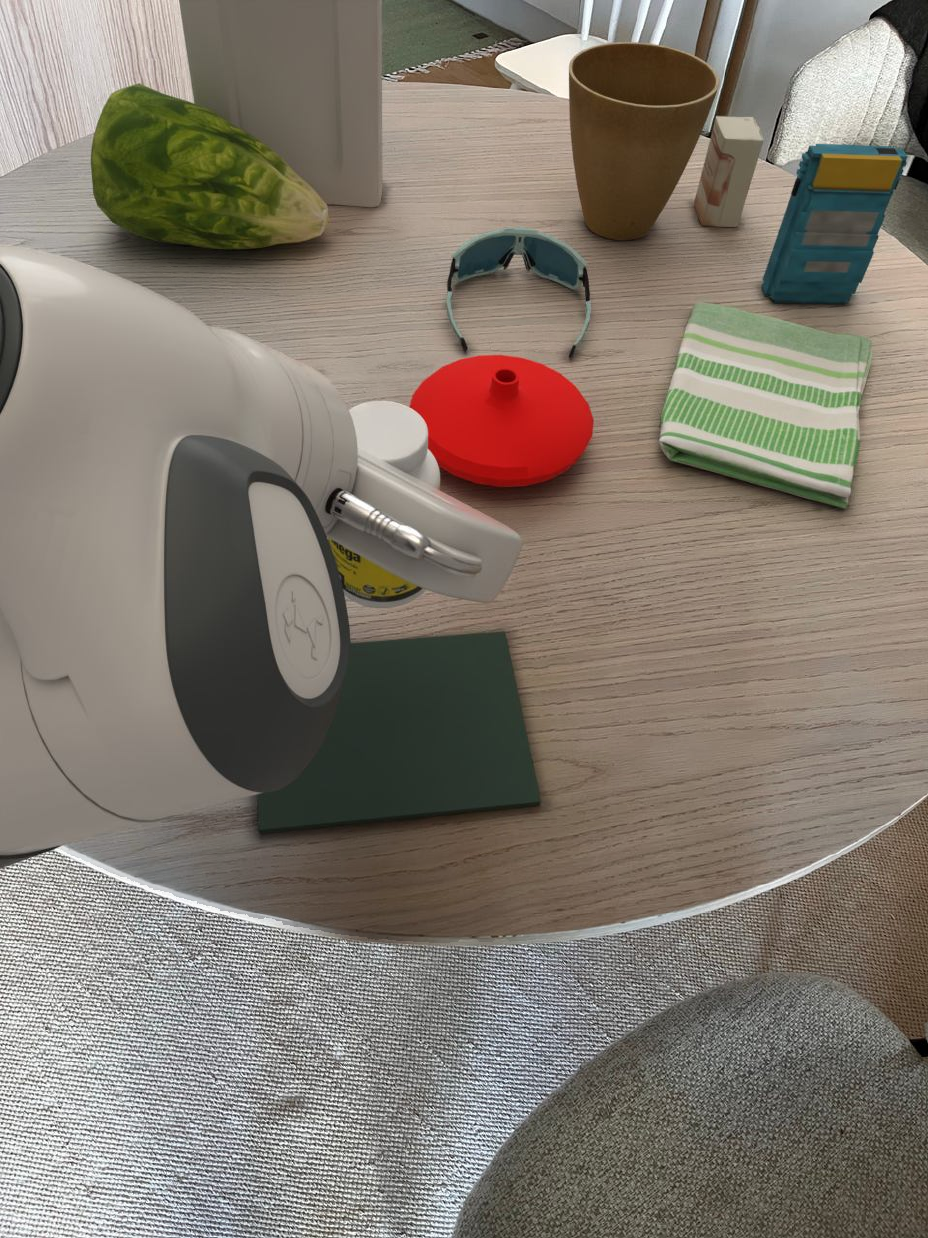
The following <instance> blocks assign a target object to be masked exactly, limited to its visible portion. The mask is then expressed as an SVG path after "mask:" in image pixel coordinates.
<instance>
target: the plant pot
mask: <svg viewBox="0 0 928 1238" xmlns="http://www.w3.org/2000/svg"><path fill="white" fill-rule="evenodd" d="M719 87H720V77H719V74H718V72H717V71H716V70H715V69H714V67H713V66H711V65H710V64H708V63H707V62H706V61H705V60H703V59H702V58H700V57H698V56H696V55H693V54H692V53H690V52H689V53H688V52H686V51H683V50H681V49H678V48H674V47H670V46H666V45H661V44H656V43H650V42H649V43H648V42H635V41H620V42H619V41H618V42H607V43H602V44H597V45H593V46H590V47H587V48H584V49H582V50H581V51H579V52H577V53H576V54H575V55H574V56H573V57H572V58H571V60H569V63H568V105H569V107H568V108H569V130H570V142H571V143H570V144H571V151H572V161H573V167H574V174H575V181H576V187H577V192H578V197H579V202H580V207H581V211H582V216H583V221H584V224H585V225H586V227H587V228H588V229H589V230H590V231H591V232H592V233H594V234H596V235H597V236H600V237H602V238H605V239H610V240H614V241H615V240H616V241H632V240H637V239H640V238H642V237H644V236H645V235H647V234H648V233H649V231H650V230H651V229H652V227H653V226H654V224H655V223H656V221H657V220H658V218H659V216H660V215H661V213H662V212H663V211H664V208H665V206H667V205H666V204H667V203H668V201H669V200H670V198H671V196H672V194H673V193H674V191H675V189H676V187H677V185H678V184H679V181H680V180H681V177H682V176H683V174H684V171H685V169H686V167H687V165H688V164H689V161H690V159H691V157H692V155H693V152H694V151H695V148H696V146H697V145H698V142H699V139H700V137H701V134H702V132H703V129H704V127H705V125H706V122H707V121H708V117H709V115H710V112H711V109H712V106H713V104H714V101H715V99H716V96H717V93H718V91H719Z"/></svg>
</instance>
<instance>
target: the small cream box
mask: <svg viewBox="0 0 928 1238" xmlns="http://www.w3.org/2000/svg"><path fill="white" fill-rule="evenodd" d="M710 135H711V136H710V138H709V142H708V146H707V151H706V155H705V158H704V162H703V166H702V169H701V174H700V178H699V182H698V186H697V189H696V193H695V197H694V202H693V204H694V208H695V212H696V216H697V217H698V220H699V223H700V225H701V226H703V227H721V228H738V227H739V225H740V221H741V217H742V214H743V211H744V207H745V204H746V201H747V197H748V193H749V191H750V187H751V183H752V181H753V177H754V174H755V170H756V168H757V164H758V160H759V157H760V154H761V151H762V147H763V144H764V140H765V139H764V136H763V134H762V131H761V128H760V127H759V124H758V123H757V121H756V119H755V117H754V116H737V115H736V116H735V115H734V116H733V115H716V116H715V119H714V122H713V127H712V130H711V134H710Z"/></svg>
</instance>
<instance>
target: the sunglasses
mask: <svg viewBox="0 0 928 1238" xmlns="http://www.w3.org/2000/svg"><path fill="white" fill-rule="evenodd" d="M514 256H521V257H522V259H523V260H522V261H523V263H524V267H525V269H526V271H527V273H529V272H530V271H532V272H533V273H534V274H536V275H537V276H539V277H540V278H543V279H547V280H551V281H553V282H556V283H558V284H560V285H562V286H565V287H566V288H569V289H571V290H578V289H581V288H582V287H583V289H584V297H585V299H584V312H585V320H584V323H583V327H582V330H581V332H580V333H579V336H578V337H577V339H576V341H575V342H574V343H573V345H572V346H571V349H570V352H569V354H568V358H572V357H573V355H574V354H575V351H576V350H577V348H578V346H579V345H580V343H581V342H582V340H583V339H584V337H585V334H586V332H587V330H588V327H589V324H590V319H591V313H592V303H591V291H590V281H589V274H588V269H587V267H588V264H587V261H586V260H585V259H584V258H583V256H582V254H580V253H579V252H578V251H577V250H575V249H574V248H572V247H571V246H570V245H569V244H568V243H565V242H564V241H562V240H560V239H558V238H556V237H555V236H553V235H551V234H548V233H545V232H541V231H539V230H538V229H532V228H526V227H525V228H524V227H518V226H517V227H504V228H502V229H494V230H491V231H488V232H485V233H481V234H479V235H477V236H475V237H473V238H471V239H469V240H467V241H466V242H465V243H463V244H462V245H460V246H459V247H458V248H457V249H456V250H455V251H454V252H453V254H452V255H451V257H452V259H451V263H450V267H449V274H448V278H447V281H446V282H447V283H446V284H447V286H446V288H447V292H446V293H447V295H446V299H445V301H446V302H445V303H446V304H445V305H446V312H447V313H446V314H447V317H448V320H449V323H450V325H451V328H452V329H451V330H452V331H453V332H454V334H455V335H456V337H457V339H458V341H459V343H460V344H461V347H462V349H463V351H465V352H466V351H468V350H469V348H468V345H467V342H466V340H465V338H464V336H463V335H462V333H461V331H460V330H459V328H458V325H457V323H456V321H455V317H454V313H453V310H452V301H453V289H452V282H453V281H452V280H454V281H456V282H459V283H460V282H462V281H466V280H468V279H471V278H476V277H479V276H480V277H481V276H485V275H491V274H493V273H495V272H497V271H498V270H500V269H503V270H504V271H506V270H507V269H508V267H509V265H510V264H511V262H512V259H513V257H514Z"/></svg>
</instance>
